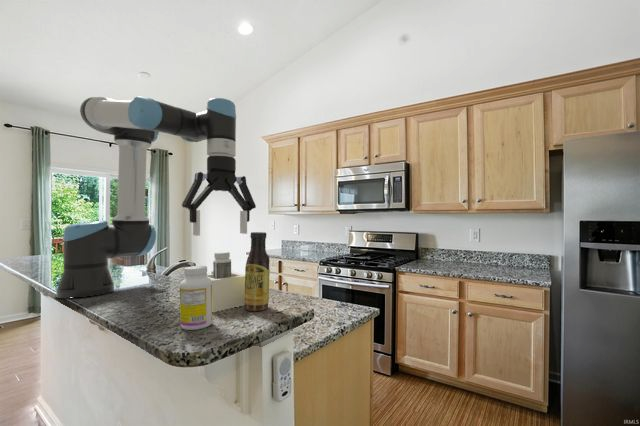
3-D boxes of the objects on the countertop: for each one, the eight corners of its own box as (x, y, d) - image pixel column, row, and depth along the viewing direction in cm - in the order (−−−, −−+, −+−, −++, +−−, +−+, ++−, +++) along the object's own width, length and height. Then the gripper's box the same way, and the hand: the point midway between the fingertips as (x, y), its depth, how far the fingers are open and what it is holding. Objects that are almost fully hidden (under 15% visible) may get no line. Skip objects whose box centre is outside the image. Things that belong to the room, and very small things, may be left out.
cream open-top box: (194, 303, 89) (194, 272, 90) (227, 297, 96) (227, 268, 96) (212, 312, 81) (212, 278, 81) (248, 305, 87) (248, 273, 87)
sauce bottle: (239, 311, 81) (239, 232, 82) (252, 305, 87) (251, 231, 88) (263, 313, 79) (262, 232, 80) (274, 306, 85) (273, 231, 86)
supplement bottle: (195, 319, 75) (195, 264, 75) (218, 322, 73) (218, 265, 73) (172, 329, 69) (172, 268, 69) (197, 332, 66) (197, 270, 67)
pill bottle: (235, 282, 89) (234, 251, 89) (223, 285, 85) (222, 253, 85) (221, 281, 91) (221, 251, 91) (209, 284, 87) (209, 252, 87)
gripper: (179, 148, 77) (179, 237, 77) (267, 160, 94) (267, 233, 94) (169, 153, 83) (168, 235, 83) (254, 163, 100) (254, 232, 99)
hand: (221, 234), depth 88 cm, fingers open, 13 cm apart
